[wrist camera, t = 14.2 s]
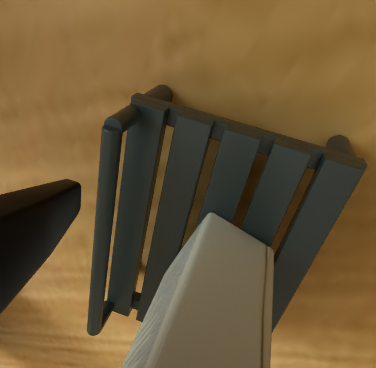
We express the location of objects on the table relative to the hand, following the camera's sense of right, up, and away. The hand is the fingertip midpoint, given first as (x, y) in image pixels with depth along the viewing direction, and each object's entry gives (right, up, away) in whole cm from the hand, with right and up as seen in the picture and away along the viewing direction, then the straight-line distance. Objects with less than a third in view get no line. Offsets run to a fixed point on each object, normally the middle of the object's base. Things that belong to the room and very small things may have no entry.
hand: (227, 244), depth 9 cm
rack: (+1, -1, +14) cm, 14 cm away
